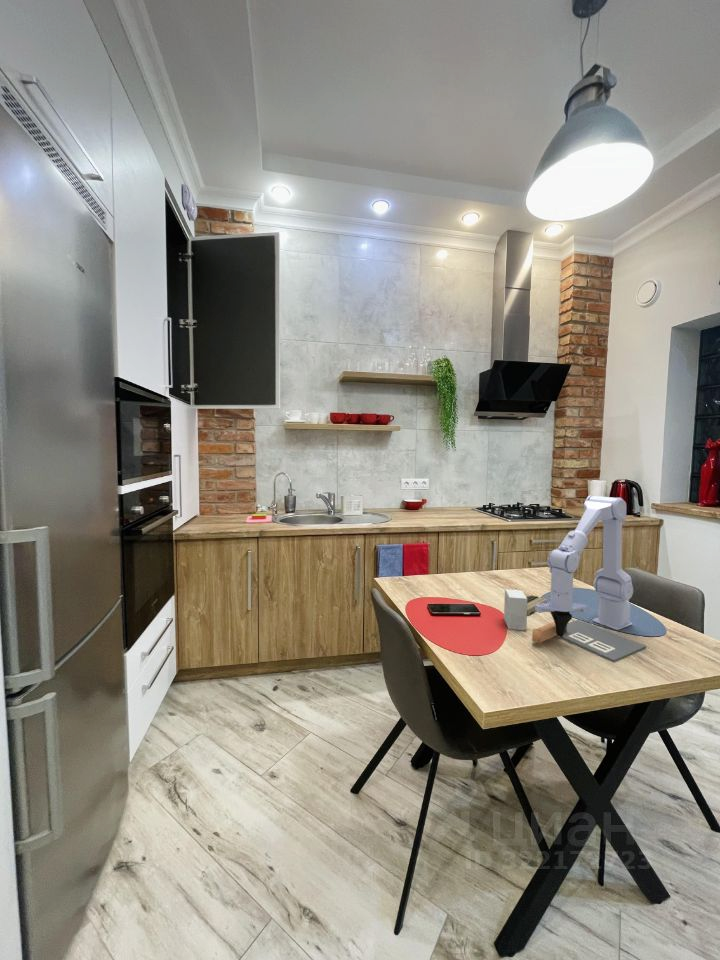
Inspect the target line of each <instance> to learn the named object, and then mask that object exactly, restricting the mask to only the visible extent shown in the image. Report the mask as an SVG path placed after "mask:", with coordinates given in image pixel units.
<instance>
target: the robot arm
mask: <svg viewBox="0 0 720 960" xmlns="http://www.w3.org/2000/svg"><path fill="white" fill-rule="evenodd" d="M583 511H584V512H583V514H582V516H581V518H580V520H579V522H578V524H577V525H576V527H575V529H574V530H571V531H569V532H567V534H566V536H565V537H564V539H563V540H562V541H561V543H560V544H559V546H558V547H557V548H556V549H553V550H551V551H550V552H549V554H548V558H547V560H546V561H547V564H548V567H549V572H550V574H551V575H550V576H551V577H550V578H551V579H550V597H549V598H550V600H549V602H548V601H547V603H541V604H535V610H536V611H537V613H543V612H544V613H546V612H547V613H550V614H551V617H552V619H553V622H555V625H556V634H557V635H559V636H560V637H563V635H564V630H565V627H566V625H567V624H568V623H569V622H571V620H572V618H573V614H571V612H574V613H575V612H576V613H581V612H582V613H585V614H587V613H588V612H587V609H588V607H587V605H585V604H584V603H574V602H573V593H574V592H573V590H574V589H573V587H574V574H575V573H574V572H576V570H577V569H578V567H579V564H580V560H581V556H580V555H581V554H582V552H583V551H584V549H585V548H586V547H587V544H588V543H589V540H588V536H589V534H590V533H591V532H592V531H593V530H594V529H595V527H596V526H597V524H598V523H599V522H600V521H601V522H602V523H603V532H602V533H603V534H602V535H603V540H602V542H603V547H602V549H603V550H602V551H603V552H602V553H603V554H602V557H603V558H602V565H603V566H602V567H603V568H600V569H598V570H597V571H596V572H595V576H594V577H595V578H594V580H593V588H594V590H595V592H597V596H599V597H598V598H599V601H598V617H595V618H592V622H595V623H597V624H600V625H602V626H604V627H607V628H611V629H613V630H614V631H619V630H622V629H624V628H627V627H630V626H632V625H633V622H631V621H630V617H631V602H630V599H631V598H632V597H633V595H634V586H633V583H632V577H631V575H630V574H628V573H627V572H626V571H624V569H623V568H622V567H623V566H622V565H623V561H622V560H623V553H622V552H623V551H622V550H623V522H626V521H627V502H626V501H625V499H623V498H622V497H613V496H612V497H610V496H600V495H594V494H590V495H588V496H587V497H586V498H585V501H584V503H583Z"/></svg>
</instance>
